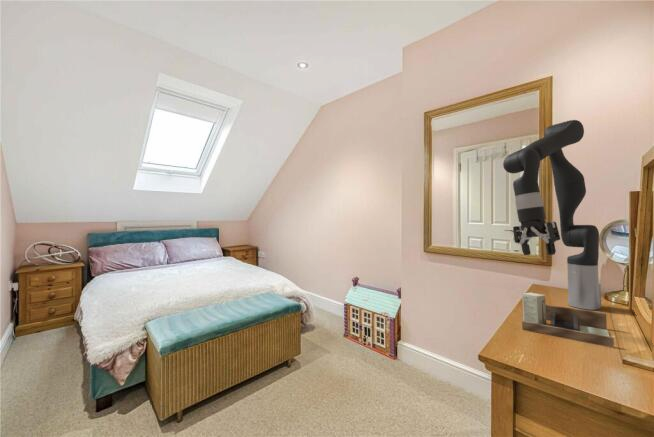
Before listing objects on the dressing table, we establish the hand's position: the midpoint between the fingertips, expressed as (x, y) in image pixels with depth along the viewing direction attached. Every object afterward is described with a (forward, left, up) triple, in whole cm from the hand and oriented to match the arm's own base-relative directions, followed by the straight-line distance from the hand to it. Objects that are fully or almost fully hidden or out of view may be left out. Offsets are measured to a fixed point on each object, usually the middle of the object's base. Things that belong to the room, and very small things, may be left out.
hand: (538, 254), depth 92 cm
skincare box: (0, -2, -24) cm, 24 cm away
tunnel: (-5, +4, -24) cm, 24 cm away
